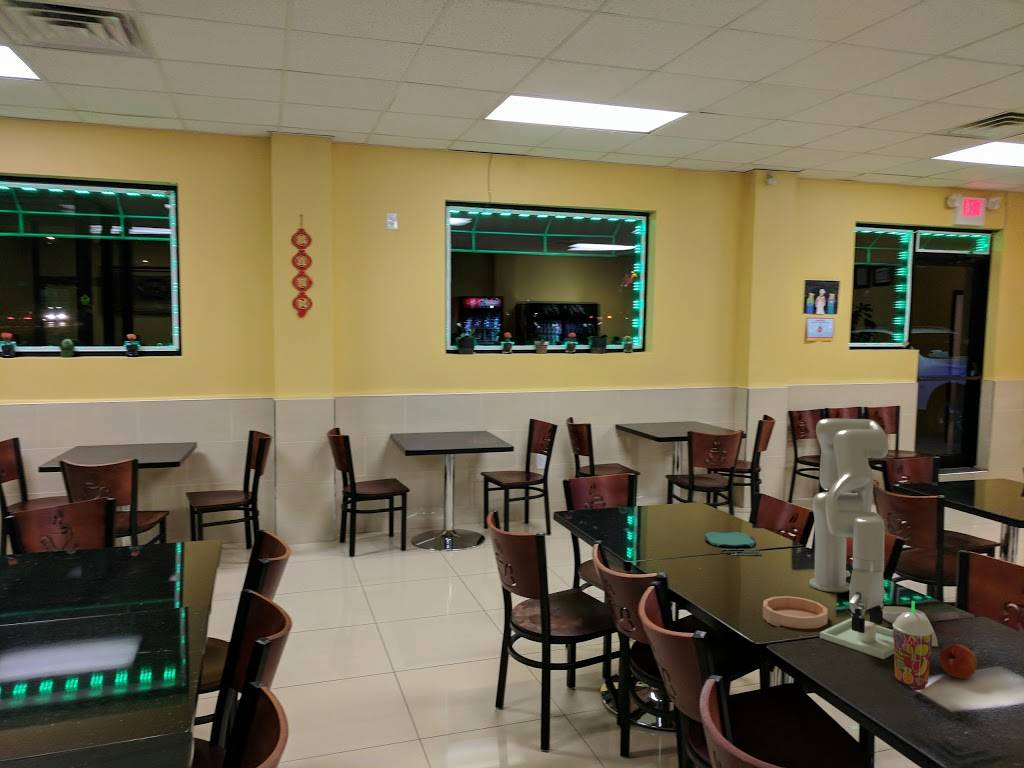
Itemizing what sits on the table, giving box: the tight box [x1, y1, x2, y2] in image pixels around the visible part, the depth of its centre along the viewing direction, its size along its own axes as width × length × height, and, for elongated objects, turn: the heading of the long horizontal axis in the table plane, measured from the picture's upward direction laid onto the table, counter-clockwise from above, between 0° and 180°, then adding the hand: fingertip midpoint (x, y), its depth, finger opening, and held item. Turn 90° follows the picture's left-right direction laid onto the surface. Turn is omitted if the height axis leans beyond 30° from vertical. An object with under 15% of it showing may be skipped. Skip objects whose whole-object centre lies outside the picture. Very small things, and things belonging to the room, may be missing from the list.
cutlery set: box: [704, 531, 763, 557], centre depth 288 cm, size 20×30×2 cm, turn 175°
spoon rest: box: [881, 605, 939, 647], centre depth 199 cm, size 24×12×7 cm, turn 174°
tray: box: [819, 617, 894, 660], centre depth 192 cm, size 17×17×2 cm
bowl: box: [762, 595, 829, 630], centre depth 208 cm, size 17×17×4 cm
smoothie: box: [892, 600, 934, 691], centre depth 168 cm, size 8×8×20 cm
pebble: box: [858, 620, 877, 643], centre depth 192 cm, size 4×4×4 cm
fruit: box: [939, 643, 978, 680], centre depth 172 cm, size 8×8×8 cm
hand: (867, 627), depth 191 cm, fingers open, 9 cm apart
